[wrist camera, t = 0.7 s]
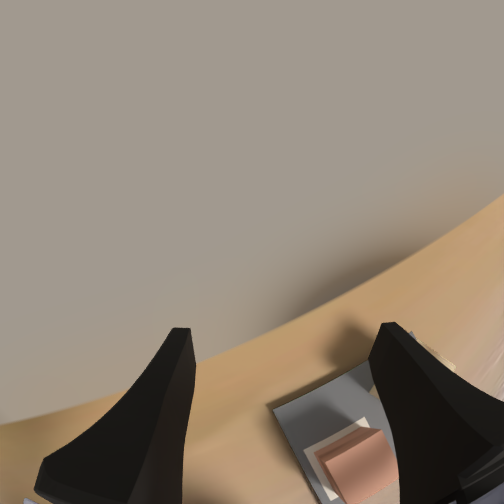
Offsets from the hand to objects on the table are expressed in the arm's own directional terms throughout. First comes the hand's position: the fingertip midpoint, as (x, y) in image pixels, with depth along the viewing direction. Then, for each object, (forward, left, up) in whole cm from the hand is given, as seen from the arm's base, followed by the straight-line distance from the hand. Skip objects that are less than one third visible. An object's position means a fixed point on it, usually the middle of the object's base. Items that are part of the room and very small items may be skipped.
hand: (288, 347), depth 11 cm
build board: (-9, -7, -17) cm, 21 cm away
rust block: (-11, -3, -17) cm, 20 cm away
